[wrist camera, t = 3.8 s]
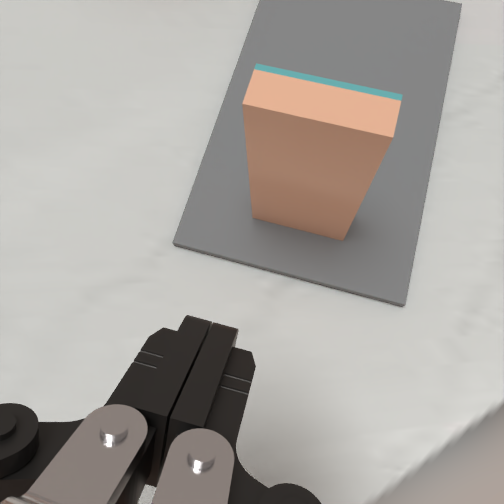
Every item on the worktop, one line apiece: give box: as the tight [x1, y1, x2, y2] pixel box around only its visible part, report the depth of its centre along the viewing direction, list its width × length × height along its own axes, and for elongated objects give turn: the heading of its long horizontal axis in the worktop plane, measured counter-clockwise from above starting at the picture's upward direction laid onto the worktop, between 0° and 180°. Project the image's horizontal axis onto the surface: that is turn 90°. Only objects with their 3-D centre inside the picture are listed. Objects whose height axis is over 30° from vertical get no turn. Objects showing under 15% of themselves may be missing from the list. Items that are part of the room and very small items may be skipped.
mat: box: [173, 0, 462, 306], centre depth 32 cm, size 15×24×1 cm, turn 164°
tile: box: [242, 63, 403, 241], centre depth 23 cm, size 6×2×12 cm, turn 74°
